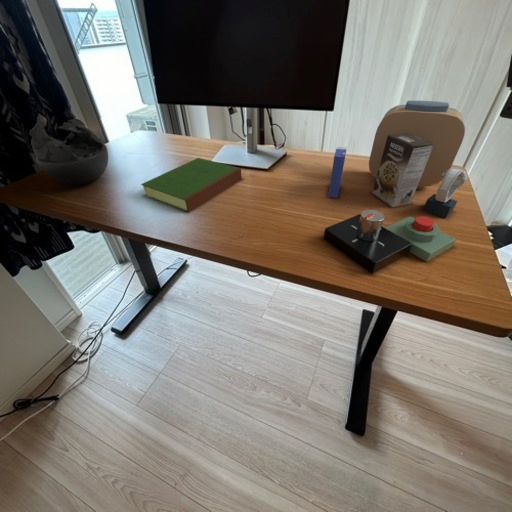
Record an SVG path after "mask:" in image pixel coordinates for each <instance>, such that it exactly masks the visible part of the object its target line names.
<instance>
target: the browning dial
mask: <svg viewBox="0 0 512 512" xmlns="http://www.w3.org/2000/svg"><path fill="white" fill-rule="evenodd" d="M360 214H361V216H360V220H359V224H358V228H357V232H356V235H357V237H358V238H360V239H361V240H364V241H375V240H376V239H377V238H378V235H379V232H380V229H381V226H382V227H383V223H384V219H385V215H384V213H382V212H380V211H379V210H375V209H365V210H362V211H361V213H360Z"/></svg>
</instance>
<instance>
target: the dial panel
mask: <svg viewBox="0 0 512 512" xmlns="http://www.w3.org/2000/svg"><path fill="white" fill-rule="evenodd" d="M360 216H361V213H359V214H356V215H353V216H352V217H349V218H347V219H343V220H342V221H339V222H336V223H335V224H332V225H329V226H327V227H325V228H324V233H323V238H322V239H323V240H324V241H325V242H327V243H328V244H329V245H331V246H332V247H334V248H335V249H336V250H338V251H339V252H341V253H342V254H343V255H345V256H346V257H347V258H349V260H352V261H353V262H354V263H356V264H357V265H358V266H359V267H361V268H363V269H364V270H366V271H367V272H368V273H369V274H371V275H373V274H375V273H377V272H379V271H381V270H383V269H385V268H387V267H388V266H389V265H391V264H393V263H395V262H397V261H399V260H401V259H403V258H404V257H406V256H408V254H409V253H410V252H409V250H410V248H411V246H412V243H411V242H409V241H407V240H405V239H404V238H402V237H400V236H398V235H397V234H395V233H393V232H391V231H389V230H388V229H386V227H384V226H383V225H382V226H381V229H380V232H379V235H378V238H377V239H376V240H375V241H364V240H361V239H360V238H358V237H357V235H356V232H357V228H358V224H359V220H360Z"/></svg>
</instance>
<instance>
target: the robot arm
mask: <svg viewBox="0 0 512 512" xmlns="http://www.w3.org/2000/svg"><path fill="white" fill-rule="evenodd" d="M505 87H506V88H509V91H510V93H509V95H508V97H507V99H506V101H505V103H504V105H503V106H502V109H501V112H500V113H499V117H500V118H502V119H508V120H512V54H510V61H509V67H508V73H507V79H506V85H505Z"/></svg>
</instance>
